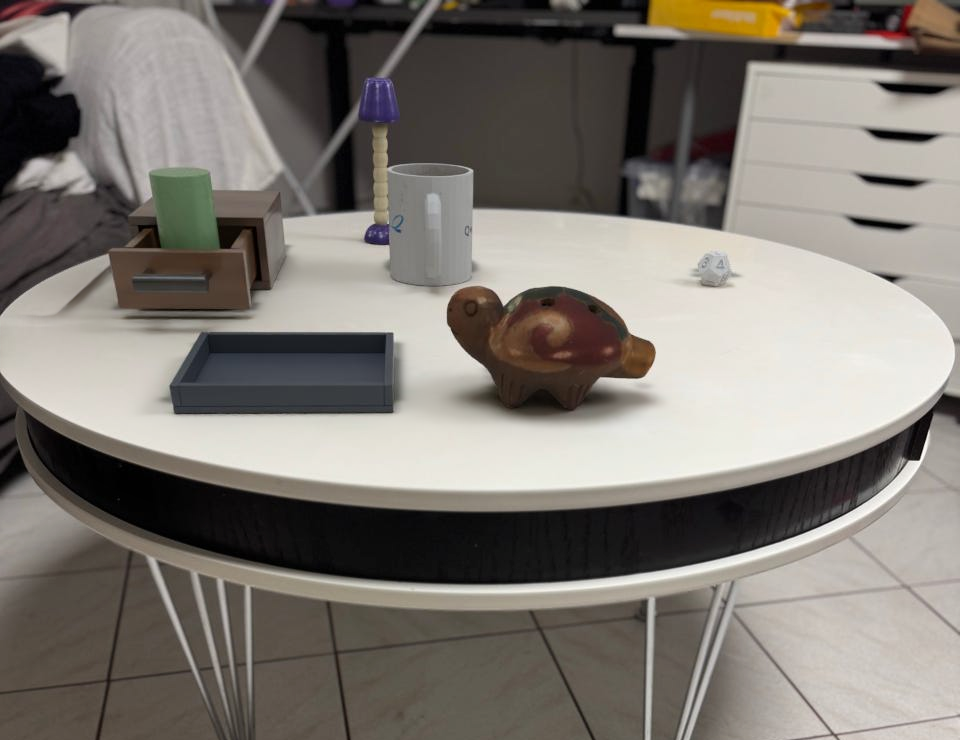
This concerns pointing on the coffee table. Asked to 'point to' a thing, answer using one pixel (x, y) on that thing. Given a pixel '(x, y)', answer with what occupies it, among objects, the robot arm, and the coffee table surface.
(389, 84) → the toy lamp
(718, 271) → the game die
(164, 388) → the coffee table surface
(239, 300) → the drawer
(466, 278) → the mug
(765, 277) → the coffee table surface
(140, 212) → the cabinet
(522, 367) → the decorative turtle
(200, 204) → the can
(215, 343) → the tray
